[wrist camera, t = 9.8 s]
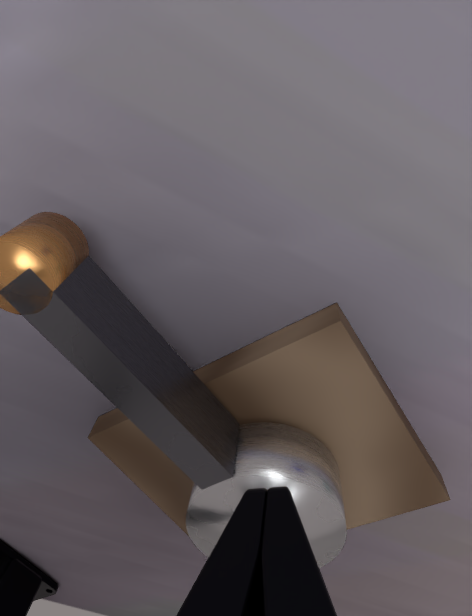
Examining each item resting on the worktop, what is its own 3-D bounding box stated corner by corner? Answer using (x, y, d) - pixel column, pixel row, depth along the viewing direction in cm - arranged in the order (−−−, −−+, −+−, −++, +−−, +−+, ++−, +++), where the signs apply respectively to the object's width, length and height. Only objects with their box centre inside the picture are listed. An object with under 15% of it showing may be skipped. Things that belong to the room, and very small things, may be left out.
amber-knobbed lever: (365, 494, 22) (390, 629, 17) (249, 534, 25) (239, 663, 19) (95, 162, 15) (-3, 218, 10) (-27, 265, 18) (-156, 353, 13)
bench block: (222, 542, 28) (219, 566, 27) (98, 416, 24) (87, 437, 23) (441, 475, 24) (450, 499, 22) (336, 302, 19) (340, 320, 18)
